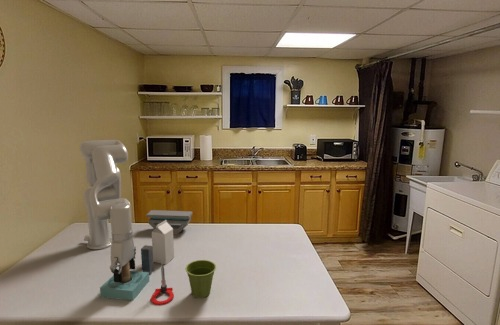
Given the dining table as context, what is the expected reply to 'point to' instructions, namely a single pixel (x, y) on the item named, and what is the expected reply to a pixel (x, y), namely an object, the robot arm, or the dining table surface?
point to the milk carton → (163, 243)
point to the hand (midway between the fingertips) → (125, 275)
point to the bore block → (125, 286)
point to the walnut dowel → (125, 273)
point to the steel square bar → (147, 259)
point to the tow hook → (162, 290)
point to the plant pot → (200, 277)
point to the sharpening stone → (170, 219)
